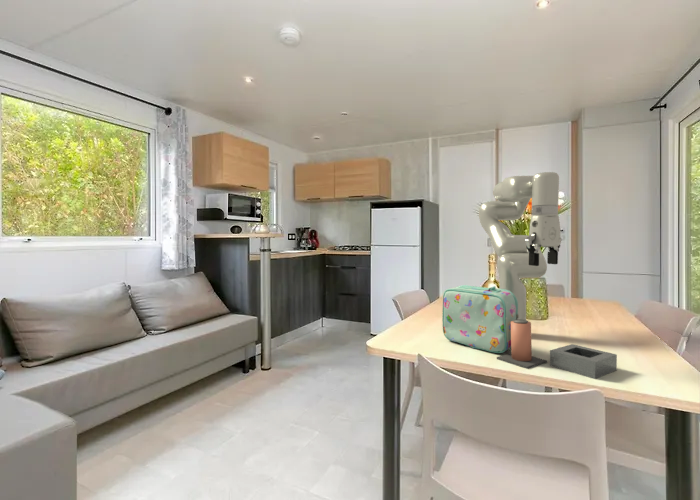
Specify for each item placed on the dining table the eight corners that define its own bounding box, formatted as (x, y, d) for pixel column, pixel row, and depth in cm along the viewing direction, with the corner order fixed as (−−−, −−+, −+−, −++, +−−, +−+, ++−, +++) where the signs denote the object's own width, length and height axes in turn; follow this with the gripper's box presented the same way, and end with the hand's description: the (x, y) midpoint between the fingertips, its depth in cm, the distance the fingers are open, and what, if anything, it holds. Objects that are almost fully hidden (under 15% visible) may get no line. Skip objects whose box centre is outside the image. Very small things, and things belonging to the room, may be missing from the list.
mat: (496, 358, 112) (496, 357, 112) (516, 353, 117) (516, 351, 117) (527, 368, 103) (527, 366, 103) (547, 362, 108) (547, 360, 108)
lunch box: (525, 352, 118) (525, 287, 118) (508, 359, 112) (509, 290, 112) (456, 335, 139) (456, 280, 139) (439, 340, 133) (439, 282, 133)
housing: (549, 365, 106) (550, 350, 106) (572, 358, 112) (572, 344, 112) (594, 378, 95) (595, 361, 95) (616, 370, 102) (616, 354, 102)
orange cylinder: (507, 357, 111) (506, 320, 111) (519, 354, 114) (518, 318, 114) (524, 362, 106) (523, 323, 106) (535, 359, 109) (535, 321, 109)
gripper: (538, 210, 109) (537, 267, 110) (572, 211, 117) (570, 264, 118) (516, 211, 115) (515, 265, 116) (549, 212, 124) (548, 262, 125)
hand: (543, 264), depth 117 cm, fingers open, 9 cm apart
